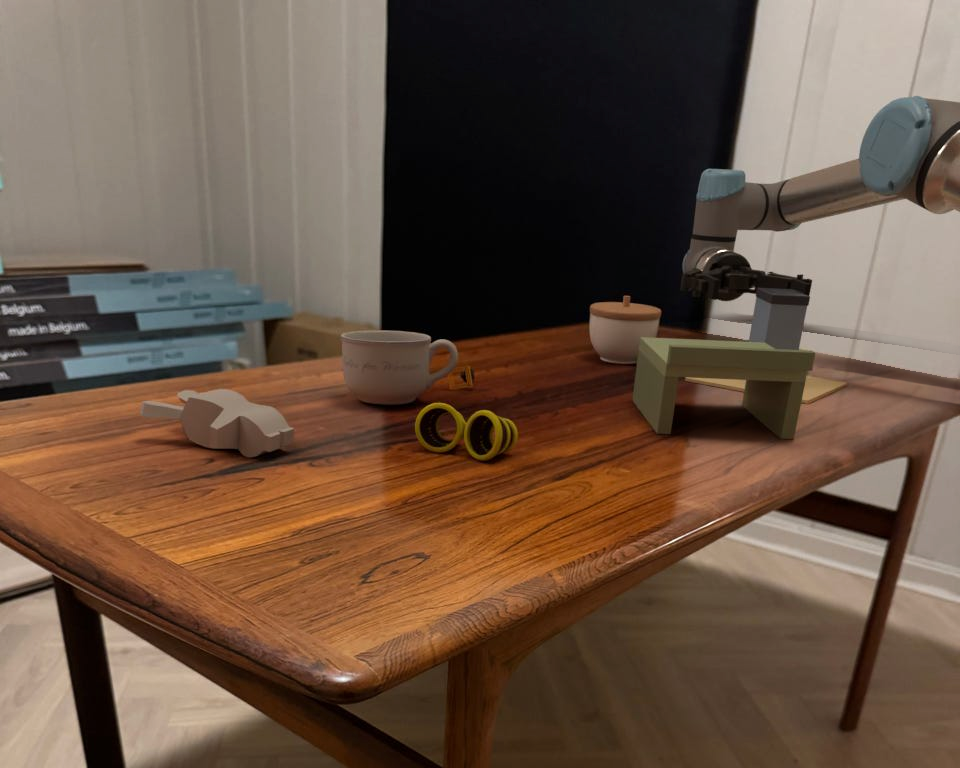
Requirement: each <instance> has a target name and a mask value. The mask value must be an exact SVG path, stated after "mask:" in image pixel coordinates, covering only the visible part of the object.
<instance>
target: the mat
mask: <svg viewBox="0 0 960 768" xmlns="http://www.w3.org/2000/svg"><path fill="white" fill-rule="evenodd" d="M684 378H685V379H684V381H685V382H688V383H694V384H700V385H704V386H708V387H709V386H710V387H715V388H719V389H725V390H730V391H735V392H736V391H737V392H741V393H742V392H743V393H744V390H745V384H746V380H736V379H713V378H689V377H684ZM847 386H848V382H845V381H839V380H833V379H828V378H821V377H815V376H811V375H807V377H806V382H805V387H804V391H803V396H802V401H801V404H804V405H805V404H806V405H809V404H811V403H813V402H815V401H817V400H819V399H820V400H821V399H822V398H824V397H826V396H829V395H830V394H832V393H835V392H837V391H839V390H841V389H844V388H846V387H847Z"/></svg>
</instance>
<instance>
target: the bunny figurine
mask: <svg viewBox="0 0 960 768" xmlns="http://www.w3.org/2000/svg"><path fill="white" fill-rule="evenodd" d="M176 395H177V397H178V399H179V401H180V402H181V403H182V404H184V405H183V406H180V405H177V404H171V403H166V402H161V401H155V400H154V401H153V400H143V401H142V403H141V407H140V411H139V415H140V416H141V417H145V418H152V419H153V418H155V419H166V420H167V419H168V420H178V421H179V422H180V424H181V427H182V430H183V431H184V432H185V435H186V437H187V439H188V440H189V441H191V442H193V443H195V444H197V445H199V446H201V447H204V448H208V449H212V450H213V449H219V450H220V449H223V450H224V449H233V450H238V451H239V453H240V454H241V455H242V456H244V457H246V458H250V459H251V458H253V457H254V458H255V457H259V456H261V455H264V454H266V453H271V452H274V451H276V450H279V449H280V448H283V447H284V448H285V447H287V446H290V445H293V444H294V441H295V428H294V427H291V426H290V425H289V423H288V422H287V420H286V418H285V416H283V415H282V414H281V413H280V412H279V411H278V409H277V408H275V407H273V406H271V405H264V404H260V403H254V402H251V401H248V400H247V398H246V397H245V396H244V395H243V394H240V393H239V392H237V391H236V390H235V391H234V390H231V389H227V388H217V389H213V390H209V391H204V392H200V393H198V392H197V391H195V390H192V389H186V390H181V391H179V392H178V393H177V394H176Z"/></svg>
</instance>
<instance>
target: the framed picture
mask: <svg viewBox="0 0 960 768" xmlns="http://www.w3.org/2000/svg"><path fill="white" fill-rule="evenodd" d="M454 372H455V373H458V372H460V374H459V376H460V377H459V378H460V379H462V381H463V382H464V383H463V384H462V383H458V384H456V385H455V382H454V376H453V373H454ZM475 378H476V376H475V373H474V370H473V369H472V368H471V367H470V365H466V366H460V367H459V366H458V367H455V368H454V369H453V370H452V371H451V372H450V373H449V374H448V375H447V381H448V387H449V390H458V389H464V388H473V387H474V383H477V382H478V380H475Z"/></svg>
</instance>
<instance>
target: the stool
mask: <svg viewBox="0 0 960 768" xmlns="http://www.w3.org/2000/svg"><path fill="white" fill-rule="evenodd" d="M815 358H816V352H815V351H813V350H807V349H804V350H803V349H799V350H786V349H774V348H773V347H771V346H770V345H768V344H766V343H762V342H749V341H741V340H740V341H739V340H738V341H737V340H735V341H734V340H717V339H716V340H713V339H693V338H669V337H656V338H649V337H640V342H639V351H638V359H637V363H636V368H635V374H634V375H635V376H634V384H633V392H632V403H633V404H634V405H635V406H636V408H637V409H638V410H639V412H640V413H641V414H642V416H643V417H644V418H645V420H646V421H647V422H648V424H649V425H650V426H651V427H652V429H653V431H654V432H655V433H656V435H671V434H672V433H671V432H672V427H673V421H674V420H673V419H674V415H675V406H676V401H677V393H678V386H679V378H686V377H689V378H713V379H736V380H746V384H745V390H744V392H743V396H742V400H741V406H742V407H743V408H744V409H745V410H747V411H748V412H749V413H750V414H751V415H753V417H754V418H756V419H757V420H758V421H759V422H760V423H762V424H763V426H765V427H766V428H767V429H769V430H770V431H771V432H772V433H773V434H774V435H775V436H777V437H778V438H779V439H780V440H794V439H795V436H796V431H797V425H798V421H799V415H800V410H801V406H802V403H801V401H802V396H803V391H804V387H805V382H806V377H807V376H808V372H812V371H813V367H814V363H815V362H814V361H815Z"/></svg>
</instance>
